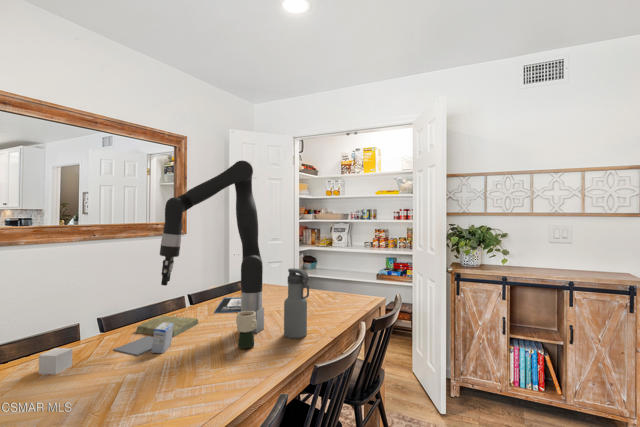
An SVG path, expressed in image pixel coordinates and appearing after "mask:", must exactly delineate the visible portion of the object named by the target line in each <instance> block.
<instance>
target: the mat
mask: <svg viewBox="0 0 640 427" xmlns="http://www.w3.org/2000/svg"><path fill="white" fill-rule="evenodd" d="M152 343H153V336H150V335H146V336H144V337H141V338H138V339H135V340H134V341H131V342H128V343H125V344H123V345H121V346H117V347H114V348H113V351H114V352H119V353H122V354H128V355H132V356H137V357H139V356H140V355H143V354H146V353H148V352H150V351H151V350H152Z"/></svg>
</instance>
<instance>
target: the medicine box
mask: <svg viewBox="0 0 640 427" xmlns="http://www.w3.org/2000/svg"><path fill="white" fill-rule="evenodd" d="M173 327H174V324H172V323H164V322H163V323H162V324H160V325H159V326H158V327H157V328H156V329H154V335H153V336H152V337H153V343H152V350H150V351H151V353H155V354H164V353H165V352H166V351H167V349H169V347H170V346H171V345H172V339H173V337H172V334H173Z"/></svg>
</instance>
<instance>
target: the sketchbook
mask: <svg viewBox="0 0 640 427" xmlns="http://www.w3.org/2000/svg"><path fill="white" fill-rule="evenodd" d="M234 312H241V296H227V297H226V296H225V297H223V299H222V300H221V301H220V302H219V304H218V305H217V308H216V309H215V310H214V311H213V314H230V313H231V314H235V313H234Z"/></svg>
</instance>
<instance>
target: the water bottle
mask: <svg viewBox="0 0 640 427" xmlns="http://www.w3.org/2000/svg"><path fill="white" fill-rule="evenodd" d="M309 278H310V277H309V274H308V272H307V271H305V269H302V268H295V267H294V268H293V267H292V268H288V276H287V297H286V298H285V300H284V302H283V334H284V337H285V338H288V339H296V340H297V339H303V338H304V337H306V336H307V334H308V301H307V298H308V297H309V296H310V285H308V281H309V280H310V279H309ZM305 288H306V291H307V292H306V295H305V296H304V289H305Z"/></svg>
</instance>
